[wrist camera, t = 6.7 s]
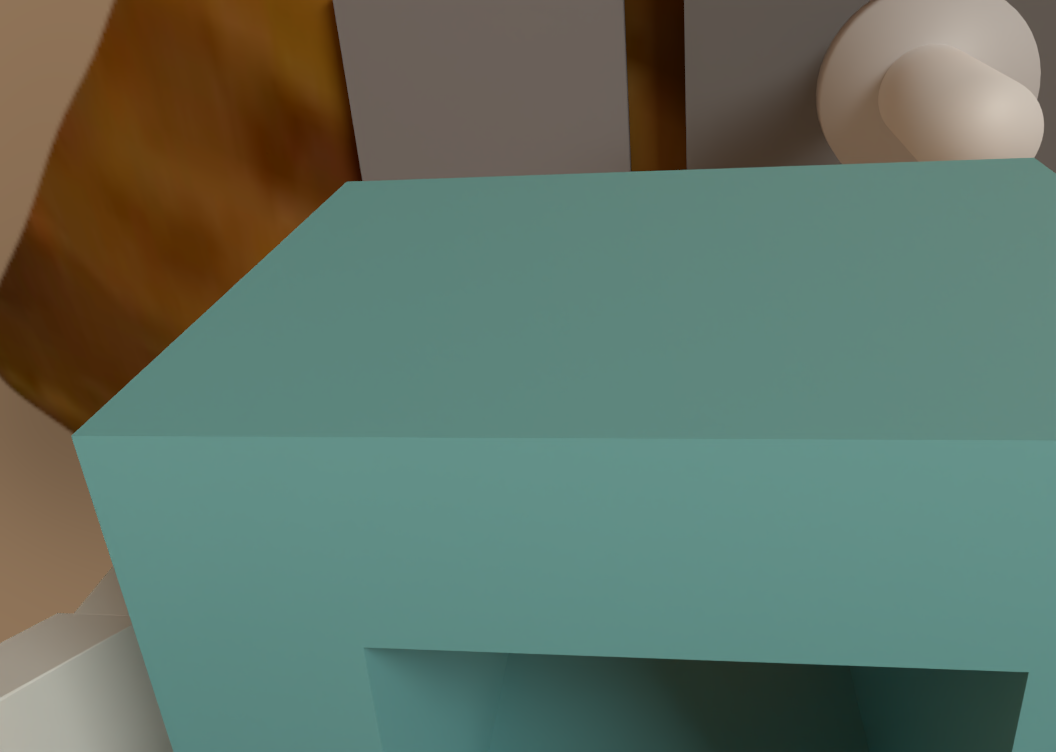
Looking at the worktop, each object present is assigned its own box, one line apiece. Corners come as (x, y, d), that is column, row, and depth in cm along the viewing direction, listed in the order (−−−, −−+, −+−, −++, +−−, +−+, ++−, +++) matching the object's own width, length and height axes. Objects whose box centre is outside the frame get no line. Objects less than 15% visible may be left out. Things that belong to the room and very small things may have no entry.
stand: (1030, 238, 34) (1225, 430, 22) (688, 251, 36) (690, 433, 24) (1098, -222, 28) (1418, -313, 16) (681, -177, 30) (680, -225, 18)
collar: (945, 692, 11) (1121, 1198, 7) (422, 670, 12) (287, 1105, 8) (1034, 158, 9) (1425, 442, 4) (347, 181, 10) (70, 436, 5)
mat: (634, 253, 36) (633, 258, 36) (381, 262, 38) (376, 267, 38) (622, -33, 32) (621, -31, 32) (337, -8, 34) (331, -6, 33)
